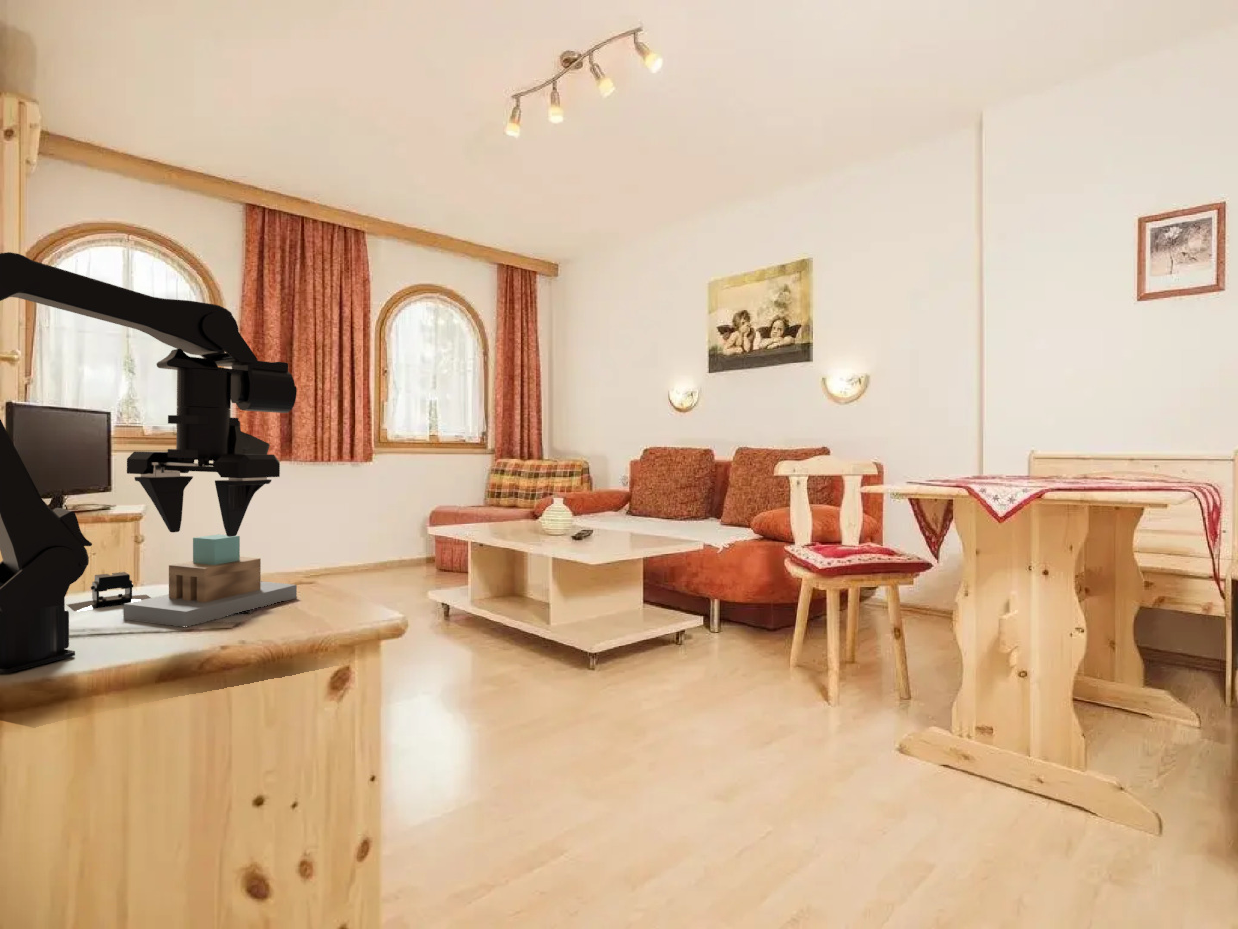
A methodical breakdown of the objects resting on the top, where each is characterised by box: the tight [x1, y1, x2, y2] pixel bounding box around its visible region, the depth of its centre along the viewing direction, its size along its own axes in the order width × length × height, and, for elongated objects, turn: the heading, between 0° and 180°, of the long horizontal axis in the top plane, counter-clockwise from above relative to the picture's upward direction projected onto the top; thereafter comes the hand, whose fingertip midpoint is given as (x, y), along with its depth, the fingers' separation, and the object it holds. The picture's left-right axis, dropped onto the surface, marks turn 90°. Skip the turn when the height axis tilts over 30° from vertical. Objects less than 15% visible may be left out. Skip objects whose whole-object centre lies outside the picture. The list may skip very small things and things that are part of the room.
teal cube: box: [192, 534, 241, 565], centre depth 95 cm, size 4×4×4 cm
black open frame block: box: [66, 571, 152, 612], centre depth 98 cm, size 12×7×5 cm, turn 137°
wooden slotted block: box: [168, 556, 261, 602], centre depth 95 cm, size 9×6×4 cm
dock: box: [122, 581, 298, 628], centre depth 96 cm, size 18×11×2 cm, turn 161°
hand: (202, 534), depth 85 cm, fingers open, 9 cm apart
